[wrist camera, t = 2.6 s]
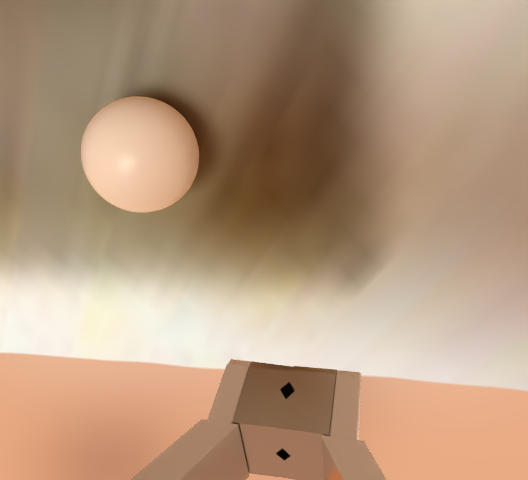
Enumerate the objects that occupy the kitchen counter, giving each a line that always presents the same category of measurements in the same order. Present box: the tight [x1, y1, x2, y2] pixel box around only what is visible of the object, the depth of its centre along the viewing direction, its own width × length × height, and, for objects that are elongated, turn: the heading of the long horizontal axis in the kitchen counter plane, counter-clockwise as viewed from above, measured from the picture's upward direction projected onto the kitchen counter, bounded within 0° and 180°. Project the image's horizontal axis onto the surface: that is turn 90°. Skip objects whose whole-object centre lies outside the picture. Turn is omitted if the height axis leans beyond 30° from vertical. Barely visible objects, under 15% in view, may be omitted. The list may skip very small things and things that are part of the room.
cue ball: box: [81, 96, 199, 213], centre depth 23 cm, size 6×6×6 cm
